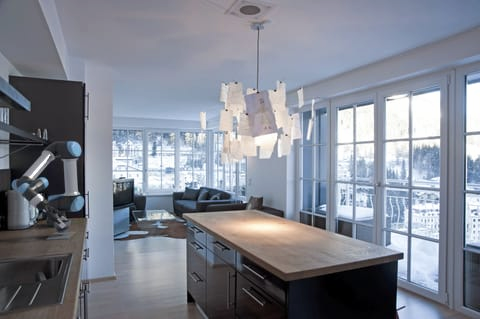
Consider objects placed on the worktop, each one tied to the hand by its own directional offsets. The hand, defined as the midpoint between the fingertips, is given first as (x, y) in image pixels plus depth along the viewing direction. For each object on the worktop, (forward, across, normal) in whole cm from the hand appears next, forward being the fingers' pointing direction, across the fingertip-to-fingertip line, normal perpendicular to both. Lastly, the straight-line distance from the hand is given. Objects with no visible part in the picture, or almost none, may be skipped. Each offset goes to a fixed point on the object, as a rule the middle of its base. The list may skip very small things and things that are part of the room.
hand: (66, 225), depth 220 cm
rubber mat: (+3, 0, -7) cm, 8 cm away
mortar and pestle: (+1, 0, -5) cm, 5 cm away
